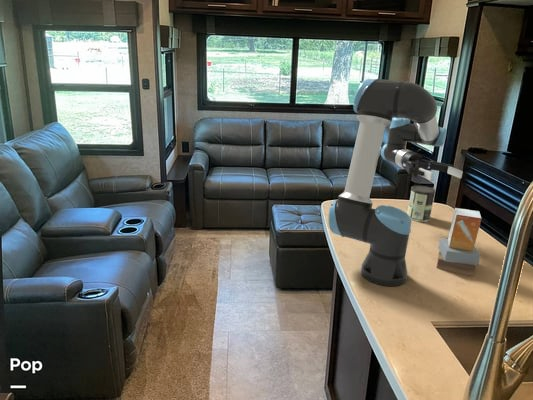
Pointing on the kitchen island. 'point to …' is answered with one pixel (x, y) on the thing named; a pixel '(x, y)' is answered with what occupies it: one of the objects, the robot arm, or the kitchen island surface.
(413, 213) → the coffee can
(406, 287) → the kitchen island surface
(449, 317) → the kitchen island surface
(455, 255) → the upper block
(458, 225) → the small box
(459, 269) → the lower block
